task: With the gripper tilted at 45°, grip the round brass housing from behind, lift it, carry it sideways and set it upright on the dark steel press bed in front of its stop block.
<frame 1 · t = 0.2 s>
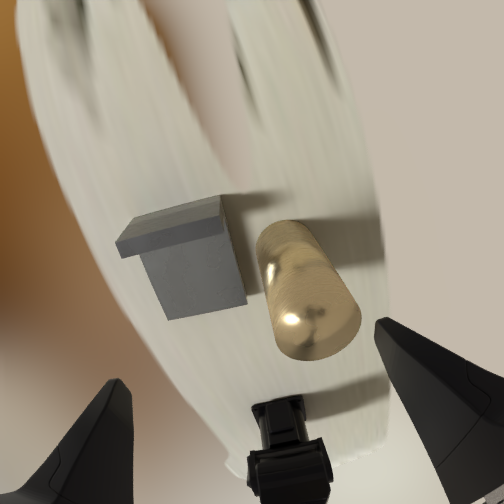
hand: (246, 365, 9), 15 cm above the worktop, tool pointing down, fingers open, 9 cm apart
press bed: (191, 258, 24), on the worktop
brass housing: (285, 247, 24), on the worktop
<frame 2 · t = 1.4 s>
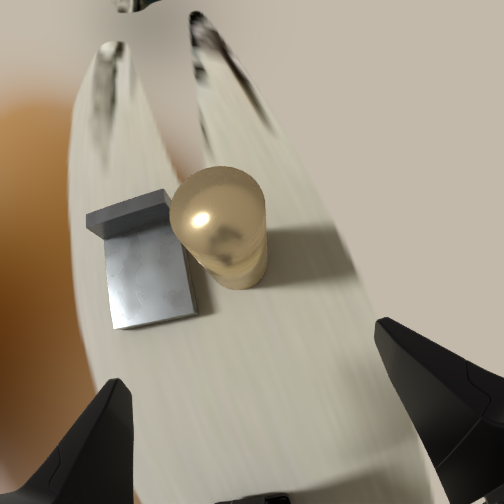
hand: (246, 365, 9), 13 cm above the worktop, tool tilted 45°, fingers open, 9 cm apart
press bed: (149, 270, 24), on the worktop
brass housing: (237, 260, 24), on the worktop
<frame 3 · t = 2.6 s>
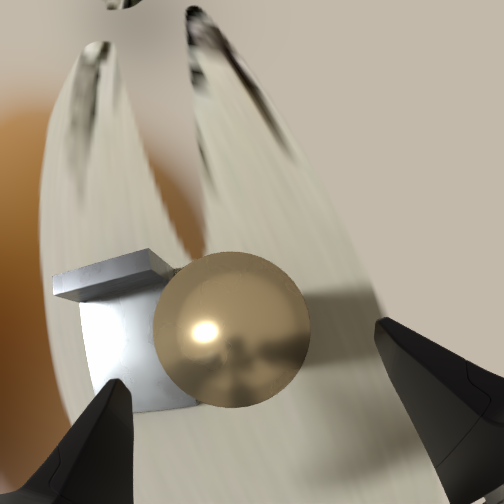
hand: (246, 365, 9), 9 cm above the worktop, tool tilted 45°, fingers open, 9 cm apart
press bed: (138, 343, 18), on the worktop
brass housing: (250, 335, 18), on the worktop
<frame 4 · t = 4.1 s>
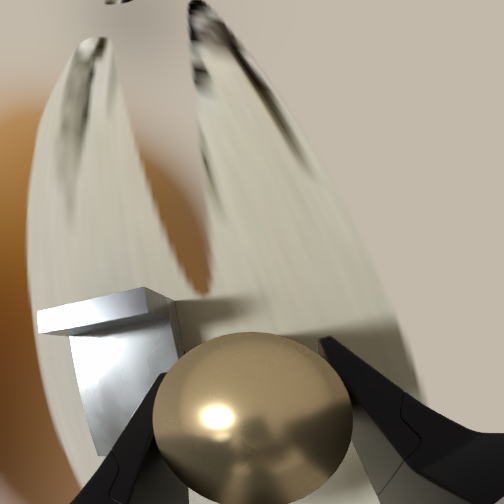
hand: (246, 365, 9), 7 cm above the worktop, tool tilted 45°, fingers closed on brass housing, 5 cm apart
press bed: (136, 382, 16), on the worktop
brass housing: (262, 378, 15), on the worktop, touching gripper
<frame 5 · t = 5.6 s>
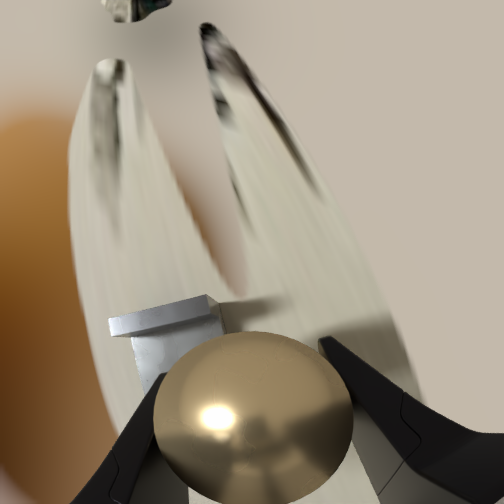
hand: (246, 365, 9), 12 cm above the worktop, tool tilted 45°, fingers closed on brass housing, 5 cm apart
press bed: (189, 370, 21), on the worktop
brass housing: (262, 377, 15), point 5 cm above the worktop, touching gripper
when the fingers open (9 cm above the worktop, at t = 7.1 s): brass housing stays where it is, resting on press bed.
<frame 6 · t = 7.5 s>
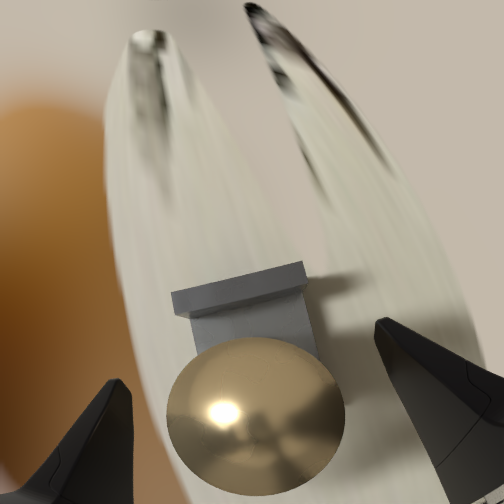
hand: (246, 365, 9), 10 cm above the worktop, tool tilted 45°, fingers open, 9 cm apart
press bed: (259, 358, 18), on the worktop
brass housing: (263, 377, 16), point 2 cm above the worktop, touching press bed
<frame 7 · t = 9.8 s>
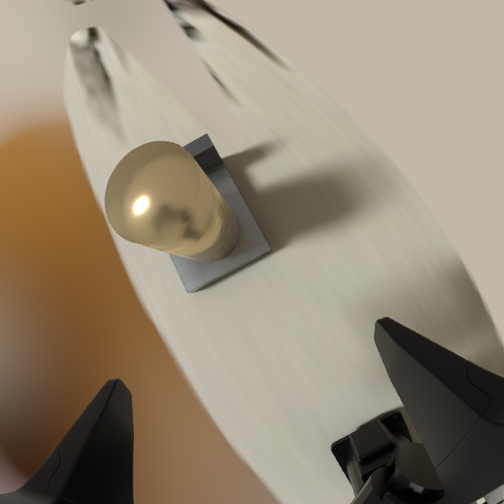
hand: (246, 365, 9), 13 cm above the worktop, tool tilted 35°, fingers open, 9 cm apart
press bed: (206, 222, 24), on the worktop
brass housing: (207, 230, 22), point 2 cm above the worktop, touching press bed
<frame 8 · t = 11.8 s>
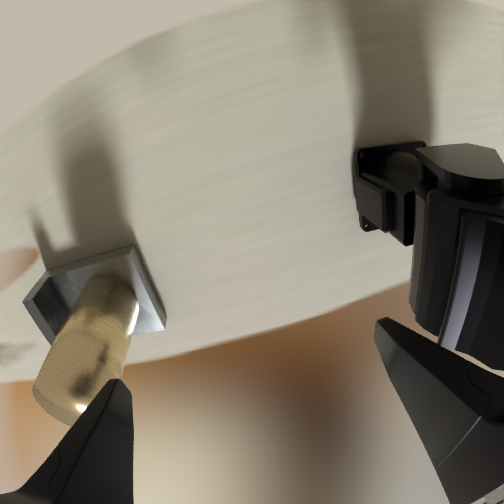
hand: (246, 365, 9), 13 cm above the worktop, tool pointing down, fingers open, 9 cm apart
press bed: (103, 294, 22), on the worktop
brass housing: (109, 303, 21), point 2 cm above the worktop, touching press bed
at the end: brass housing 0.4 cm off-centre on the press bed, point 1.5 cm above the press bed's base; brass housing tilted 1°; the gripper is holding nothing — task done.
